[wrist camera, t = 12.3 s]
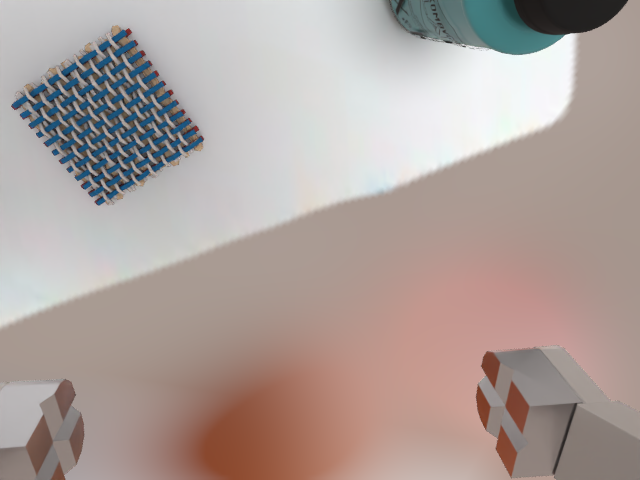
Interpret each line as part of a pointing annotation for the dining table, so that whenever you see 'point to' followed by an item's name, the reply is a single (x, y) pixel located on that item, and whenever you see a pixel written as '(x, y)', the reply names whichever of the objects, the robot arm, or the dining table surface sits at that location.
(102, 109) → the woven mat
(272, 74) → the dining table surface
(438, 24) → the beverage bottle
